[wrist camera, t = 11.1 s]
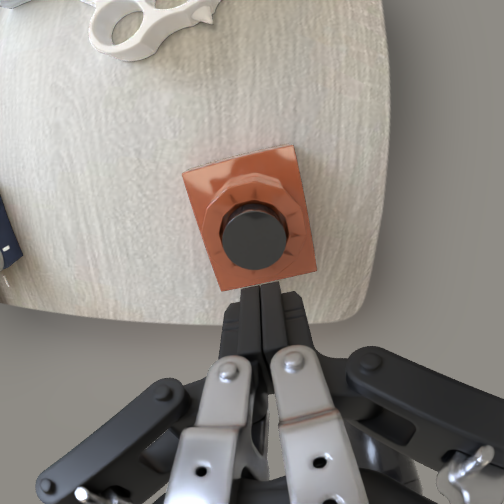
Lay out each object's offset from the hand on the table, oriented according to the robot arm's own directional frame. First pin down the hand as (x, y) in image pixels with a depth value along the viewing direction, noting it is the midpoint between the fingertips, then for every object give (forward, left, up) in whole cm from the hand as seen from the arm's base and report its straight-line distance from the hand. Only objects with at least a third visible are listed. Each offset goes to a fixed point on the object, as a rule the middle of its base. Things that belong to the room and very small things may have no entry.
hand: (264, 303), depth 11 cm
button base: (0, 0, -12) cm, 12 cm away
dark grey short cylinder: (0, 0, -8) cm, 8 cm away
